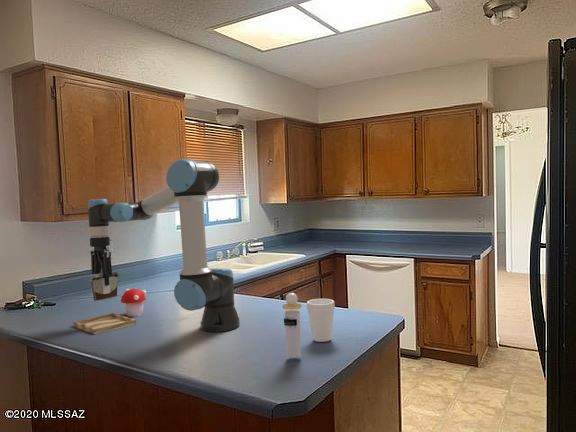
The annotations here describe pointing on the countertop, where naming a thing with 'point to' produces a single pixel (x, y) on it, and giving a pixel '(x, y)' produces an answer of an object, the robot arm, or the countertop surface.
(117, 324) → the tray
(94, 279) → the brown white half-round block
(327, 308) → the foam cup
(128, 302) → the mushroom
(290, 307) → the perfume bottle
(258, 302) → the countertop surface
